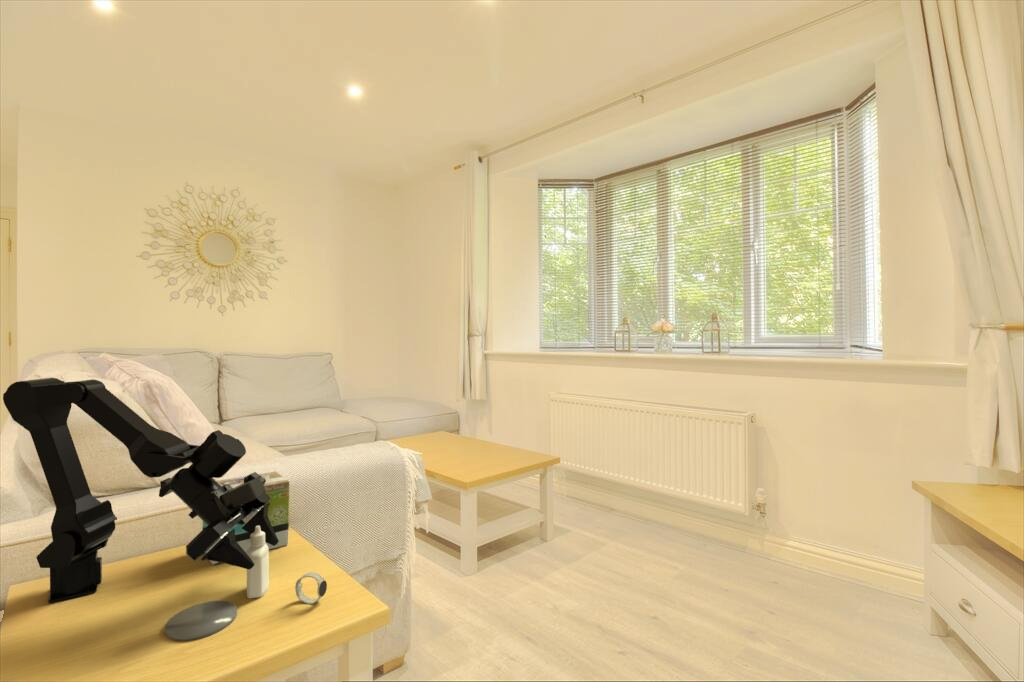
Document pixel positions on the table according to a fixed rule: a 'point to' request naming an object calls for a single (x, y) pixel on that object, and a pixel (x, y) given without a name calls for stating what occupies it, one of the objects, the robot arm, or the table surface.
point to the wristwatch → (321, 589)
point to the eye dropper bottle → (258, 565)
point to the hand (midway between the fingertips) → (265, 554)
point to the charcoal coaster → (200, 620)
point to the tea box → (276, 511)
